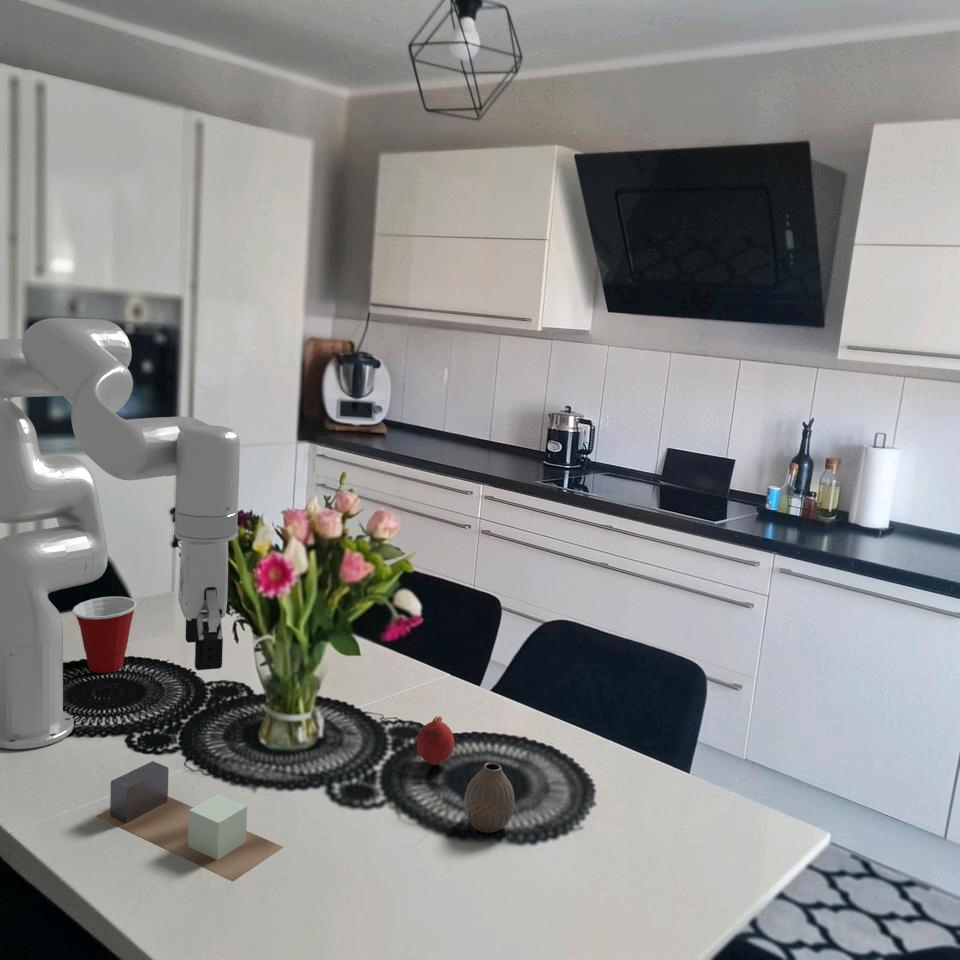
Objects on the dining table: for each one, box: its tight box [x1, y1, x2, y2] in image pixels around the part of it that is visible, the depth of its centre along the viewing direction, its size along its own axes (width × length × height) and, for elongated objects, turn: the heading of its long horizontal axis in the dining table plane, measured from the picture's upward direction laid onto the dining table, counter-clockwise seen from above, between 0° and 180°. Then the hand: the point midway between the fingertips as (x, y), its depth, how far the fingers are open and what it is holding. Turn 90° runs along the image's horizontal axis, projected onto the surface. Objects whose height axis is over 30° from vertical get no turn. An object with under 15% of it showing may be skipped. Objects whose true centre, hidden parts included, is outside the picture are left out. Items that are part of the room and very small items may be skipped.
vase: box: [463, 762, 516, 833], centre depth 131 cm, size 7×7×9 cm
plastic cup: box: [72, 596, 138, 674], centre depth 173 cm, size 11×11×12 cm
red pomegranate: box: [416, 715, 455, 766], centre depth 147 cm, size 6×6×8 cm
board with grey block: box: [96, 760, 284, 882], centre depth 123 cm, size 24×9×6 cm, turn 61°
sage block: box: [188, 793, 248, 860], centre depth 121 cm, size 5×5×5 cm
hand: (203, 654), depth 123 cm, fingers open, 9 cm apart
